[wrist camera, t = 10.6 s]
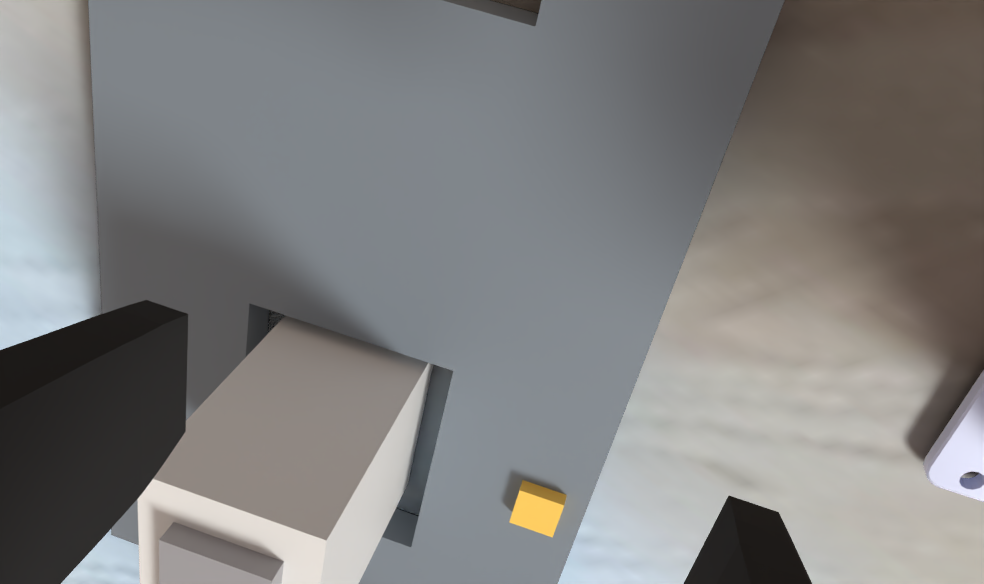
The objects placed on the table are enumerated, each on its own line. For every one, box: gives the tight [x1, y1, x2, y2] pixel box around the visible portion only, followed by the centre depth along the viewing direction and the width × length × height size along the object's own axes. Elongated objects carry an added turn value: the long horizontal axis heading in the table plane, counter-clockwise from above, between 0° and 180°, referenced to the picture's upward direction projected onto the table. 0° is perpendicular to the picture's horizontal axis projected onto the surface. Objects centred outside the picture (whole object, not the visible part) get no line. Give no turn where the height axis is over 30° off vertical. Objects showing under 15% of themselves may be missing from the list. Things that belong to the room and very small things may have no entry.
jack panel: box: [88, 0, 785, 584], centre depth 18 cm, size 14×30×2 cm, turn 168°
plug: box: [137, 315, 433, 584], centre depth 20 cm, size 4×5×8 cm
